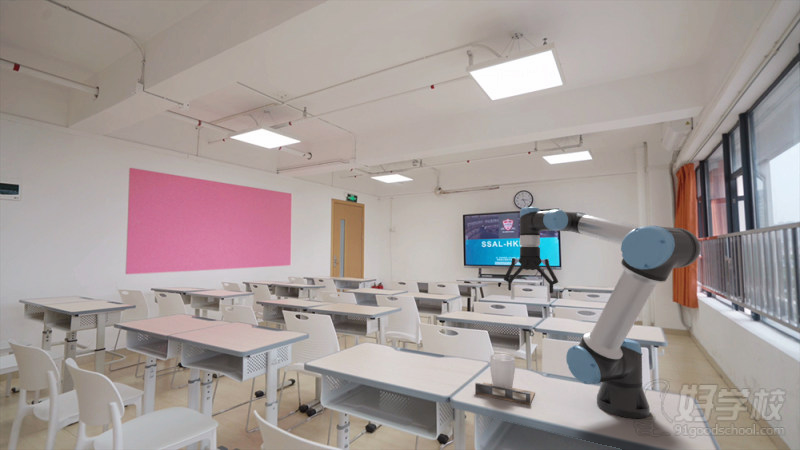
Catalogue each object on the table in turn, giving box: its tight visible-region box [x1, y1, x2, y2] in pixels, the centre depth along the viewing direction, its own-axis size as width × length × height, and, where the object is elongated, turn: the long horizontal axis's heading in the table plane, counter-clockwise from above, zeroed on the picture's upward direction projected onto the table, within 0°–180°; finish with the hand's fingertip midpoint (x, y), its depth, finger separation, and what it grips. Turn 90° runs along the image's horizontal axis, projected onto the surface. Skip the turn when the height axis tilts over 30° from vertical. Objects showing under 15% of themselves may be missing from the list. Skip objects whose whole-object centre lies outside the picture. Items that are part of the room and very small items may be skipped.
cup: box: [489, 353, 516, 389], centre depth 135 cm, size 9×9×12 cm
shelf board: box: [474, 382, 536, 406], centre depth 133 cm, size 19×11×4 cm, turn 62°
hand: (530, 300), depth 144 cm, fingers open, 13 cm apart
